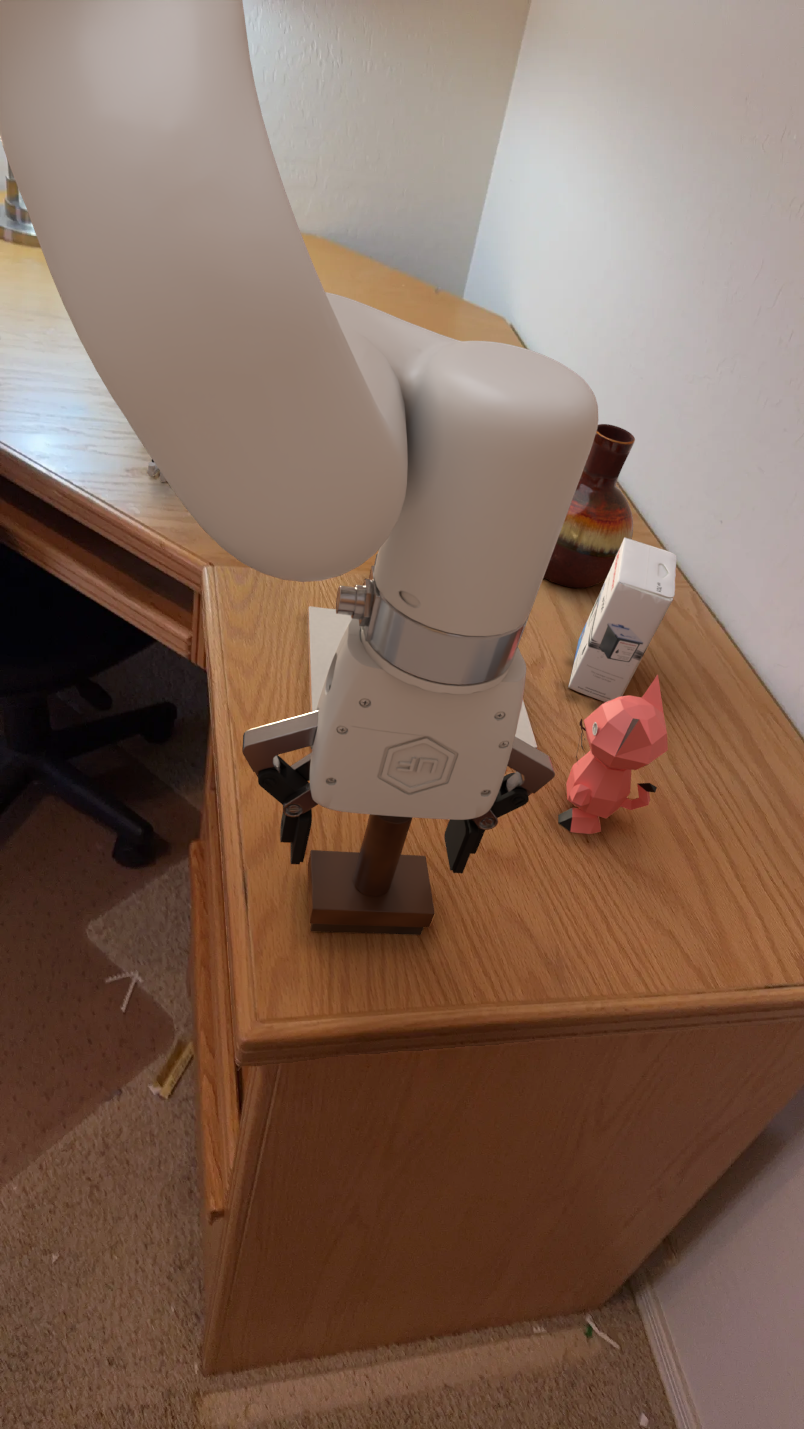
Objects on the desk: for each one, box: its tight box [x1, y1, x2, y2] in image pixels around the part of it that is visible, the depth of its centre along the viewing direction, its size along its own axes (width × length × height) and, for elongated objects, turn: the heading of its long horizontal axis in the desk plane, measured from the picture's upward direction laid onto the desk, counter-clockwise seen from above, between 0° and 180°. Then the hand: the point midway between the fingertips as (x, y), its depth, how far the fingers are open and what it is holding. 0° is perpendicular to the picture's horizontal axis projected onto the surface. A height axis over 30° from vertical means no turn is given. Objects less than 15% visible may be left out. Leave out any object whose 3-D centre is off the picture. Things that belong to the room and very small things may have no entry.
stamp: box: [307, 814, 436, 936], centre depth 53 cm, size 8×4×10 cm, turn 96°
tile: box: [306, 605, 538, 749], centre depth 74 cm, size 18×16×1 cm
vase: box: [543, 423, 636, 589], centre depth 90 cm, size 11×11×15 cm
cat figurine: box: [557, 674, 669, 835], centre depth 63 cm, size 7×7×12 cm
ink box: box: [568, 538, 678, 703], centre depth 77 cm, size 9×5×12 cm, turn 164°
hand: (375, 850), depth 53 cm, fingers open, 9 cm apart
